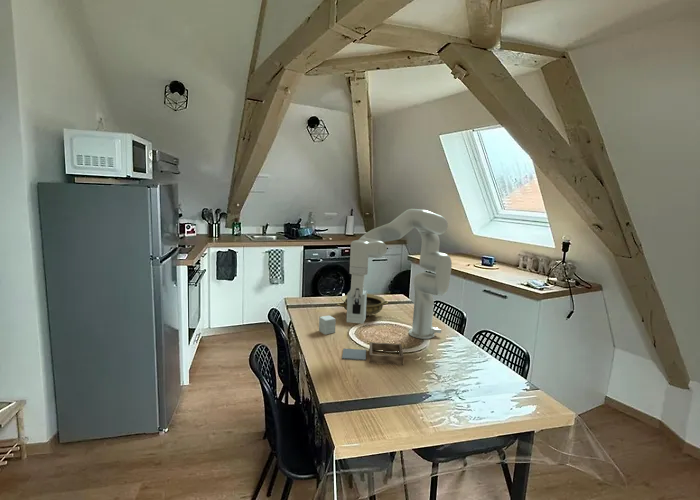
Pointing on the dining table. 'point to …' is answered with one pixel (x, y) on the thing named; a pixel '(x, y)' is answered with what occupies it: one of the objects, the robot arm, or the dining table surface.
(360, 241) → the robot arm
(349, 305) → the supplement box
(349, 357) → the pad
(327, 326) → the product box
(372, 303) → the ceramic bowl
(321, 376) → the dining table surface
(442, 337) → the dining table surface
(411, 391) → the dining table surface
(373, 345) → the wooden square frame
